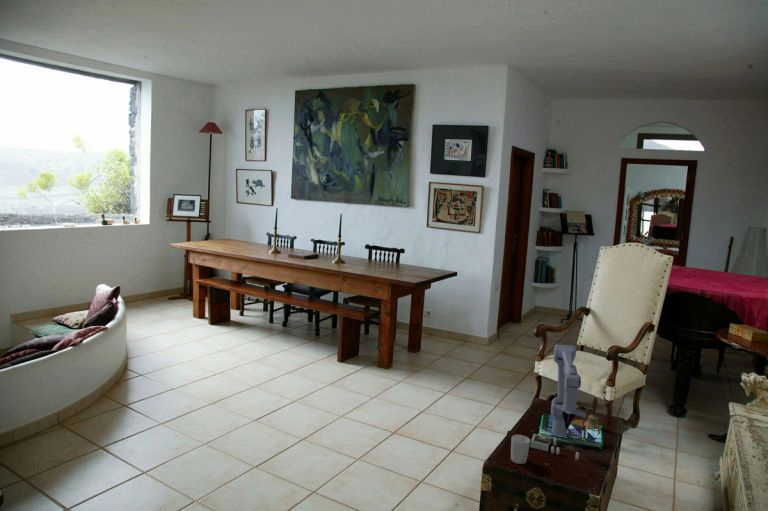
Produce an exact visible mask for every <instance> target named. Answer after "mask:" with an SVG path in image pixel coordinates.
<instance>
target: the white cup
mask: <svg viewBox="0 0 768 511" xmlns="http://www.w3.org/2000/svg"><path fill="white" fill-rule="evenodd" d="M510 441H511V442H510V460H511V461H512V462H513V463H515V464H518V465H524V464H526V463H527V460H528V454H529V448H530V443H531V439H530V438H529V437H528V436H526V435H522V434H514V435H512V436H511V440H510Z"/></svg>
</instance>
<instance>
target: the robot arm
mask: <svg viewBox="0 0 768 511" xmlns="http://www.w3.org/2000/svg"><path fill="white" fill-rule="evenodd" d="M576 357H577V348H576V347H575V346H574V345H573V346H572V345H562V344H557V343H556V344H555V345H554V347H553V361H554V362H555V363H556V364H557V396H556V397H554V398H553V399H552V400H551V406H550V414H551V416H552V417H553V419H552V426H551V427H552V428H551V430H552V432H553V433H555V434H557V435H561V436H566V435H567V431H568V430H569V428H570V425H571V424H572V422H573V420H574V419H575V416H579V417H582V418H584V419H585V418H586V416H587V412H586V411H583V410H580V409H578V408H577V404H578V394H579V389H581V386H582V378H581V375H580V374H578V371H577V367H576V364H574V361H575V358H576Z"/></svg>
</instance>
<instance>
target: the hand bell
mask: <svg viewBox="0 0 768 511" xmlns="http://www.w3.org/2000/svg"><path fill="white" fill-rule="evenodd" d="M591 407H592V409H591V410H592V411H591V415H588V416H587V417H588V418H587V421H585V422H583V424H584V425H583V427H584V426H586V427H588V428H590V429H598V428H601V426H600V424H599V418H598V416H597V415H596V411H597V408H598V398H597V397H593V399H592V402H591ZM590 429H589V430H590Z"/></svg>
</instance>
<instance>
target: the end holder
mask: <svg viewBox="0 0 768 511" xmlns="http://www.w3.org/2000/svg"><path fill="white" fill-rule="evenodd" d="M539 435H540V436H544V437H548V441H547V444H544V443H540V442H538V437H539ZM551 442H552V437H549V436H545V435H541V434H538V433H537V434H536V433H533V435H532V438H531V439H530V444H529V448H532V449H537V450H539V451H544V452H549V446H550V445H551Z"/></svg>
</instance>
